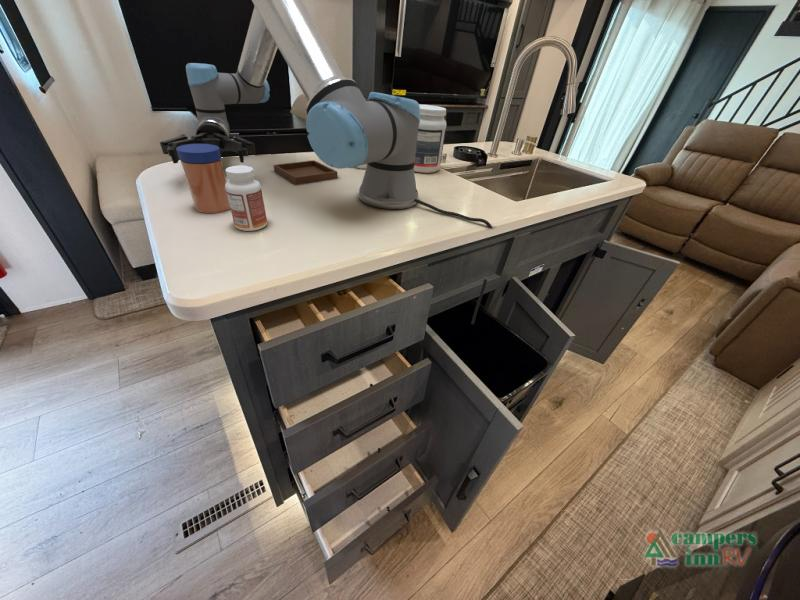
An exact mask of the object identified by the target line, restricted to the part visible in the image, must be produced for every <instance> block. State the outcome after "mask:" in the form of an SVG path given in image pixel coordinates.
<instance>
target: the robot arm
mask: <svg viewBox="0 0 800 600" xmlns="http://www.w3.org/2000/svg"><path fill="white" fill-rule="evenodd" d="M251 2H252V4H253V6H254V7H253V11H252V14H251V18H250V22H249V25H248V29H247V33H246V37H245V40H244V45H243V47H242V52H241V55H240V59H239V63H238V66H237V70H236V72H235V73H232V72H231V73H230V72H229V73H228V72H218V70H217V67H216V66H215V65H214V64H210V63H209V64H208V63H199V62H188V63H187V64H186V65H185V72H186V78H187V84H188V86H189V89H190V93H191V96H192V100H193V104H194V107H195V112H196V116H197V120H198V126H197V128H196V132H195V135H191V136H190V137H188V136H187V134H184V133H182V134H180V135H179V136H176V137H172V138H169V139H166V140H162V141H160V142H159V145H160V147H161V151H162V153H163V155H168V156H169V157H171V160H172V164H178V163H179V161H180V159H179V156H178V153H177V150H176V148H177V147H178V146H181V145H186V144H211V145H215V146H218V147H219V150H220V154H223V153H224V152H233V153H236V154H238V158H239V162H240V164H241V163H242V164H243V163H245V157H248V156H249V154H251V155H256V154H257V153H256V147H255V143H254V142H252V141H250V140H247V139H246V138H245V139H244V138H242V137H241V136H240V135H238V134H237V135H234V136H232V138H230V133H231V129H230V124H229V122H228V119H227V114H226V107H225V105H240V104H241V105H242V104H245V105H247V104H248V105H249V104H252V105H253V104H254V105H255V104H256V105H258V104H262V103H263V104H264V103H266V102H268V101H269V100H270V99H269V98H270V96H271V94H270V91H271V89H270V84H269V82H268V80H267V79H268V74H269V73H270V70H271V67H272V65H273V62H274V59H275V56H276V54H277V50H279V52H280V54H281V56H282V57H283V59H284V61H285V63H286V65H287V66H288V68H289V70H290V71H291V74H292V75H293V77H294V78H295V80H296V83H297V84H298V85H299V88H300V90H301V91H302V93H303V94H304V95H303V96H304V97H305V98H306V100H307V103H306V107H305V114H306V120H305V129H306V130H305V131H307V132H308V134H307V139H308V142H309V144H310V147H311V149H312V150H313V152H314V154H315V155H316V156H317V158H318V159H319V160H320V161H321V162H323V163H324V164H325V165H326V166H328V167H330V168H333V169H339V170H341V169H354V168H356V167H357V166H360V165H363V164H367V168H365V172H364V174H363V178H362V181H361V185H360V187H359V189H358V190H359V191H358V195H359V197H358V198H359V200H360V201H361V202H362V203H364V204H366V205H367V206H370V207H373V208H377V209H382V210H404V209H410V208H413V207H414V206H415V205H416V204H419V205H421V206H424V207H425V208H426V207H427V208H428V209H431V210H433V211H435V212H438V213H440V214H442V215H443V214H444V215H449V216H453V217H457V218H460V219H464V220H465V221H468V222H478V223H482V224H485V225H486V226H487V228H488V229H491V230H492V229H494V228H493V226H492V224H491V223H490V222H489V221H488V220H486V219H484V218H479V217H471V216H467V215H464V214H461V213H458V212H455V211H454V212H453V211H448V210H444V209H441V208H438V207H436V206H434V205H432V204H429V203H427V202H425V201H422V200H420V199H419V192H418V189H417V181H416V176H415V171H414V162H415V154H416V145H417V136H418V127H419V123H420V119H419V115H420V106H419V104H420V103H419V102H418V101H417V100H415V99H411V98H407V97H402V96H397V95H392V94H386V93H381V92H376V91H371V92H370V93H369V94H368V97H367V100H366V98H365V96H364V95H363V93H362V91H361V90H360V89H361V88H359V87H360V86H358V84H357V82H356V81H355V80H354V79H353V78H349V77H345V76H344V74H343V72H342V70H341V68H340V67H339V65H338V63H337V61H336V60H335V59H336V58H335V57H334V56H333V54H332V52H331V50H330V48H329V46H328V45H327V43H326V41H325V39H324V37H323V35H322V34H321V32H320V29H319V28H318V26H317V24H316V22H315V20H314V18H313V17H312V15H311V13H310V11H309V9H308V8H307V5H306V4H305V2H304V0H251ZM487 283H488V279H486V278H484V279H483V282H482V285H481V289H480V293H479V296H478V298H477V301H476V305H475V308H474V311H473V315H472V319H471V321H470V322H471V325H475V322H476V317H477V314H478V311H479V308H480V306H481V305H480V304H481V302H482V298H483V295H484V292H485V290H486V287H487Z"/></svg>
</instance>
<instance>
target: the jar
mask: <svg viewBox="0 0 800 600" xmlns="http://www.w3.org/2000/svg"><path fill="white" fill-rule="evenodd" d="M180 163H181V166H182V170H183V173H184V176H185V179H186V183H187V186H188V189H189V193H190V195H191V198H192V202H193V205H194V208H195V210H196V211H197V212H199V213H202V214H217V213H218V214H219V213H223V212H226V211H228V210H231V209H230V204H229V200H228V197H227V193H226V188H225V184H226V182H227V179H226V178H227V177H226V173H225V170H224V165H223V162H222V158H221V159H220V160H218V161H214V162H209V163H188V162H184V161H181V160H180Z"/></svg>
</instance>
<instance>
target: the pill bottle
mask: <svg viewBox="0 0 800 600" xmlns="http://www.w3.org/2000/svg"><path fill="white" fill-rule="evenodd" d="M225 175H226V178H227V179H228V180H226V184H225V188H226V193H227V197H228V200H229V204H230V209H229V210H230V212H231V216H232V220H233V224H234V226H235V228H236V229H238V230H239V231H240V230H241V231H244V232H245V231H246V232H252V231H258V230H262V229H263V228H265V227H266V226H267V225H268V218H267V212H266V207H265V202H264V197H263V191H262V186H261V184H260V181H258V180H257V179H255V175H256V174H255V171H254V168H253V167H251V166H249V165H232V166H229V167H226V169H225Z"/></svg>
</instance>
